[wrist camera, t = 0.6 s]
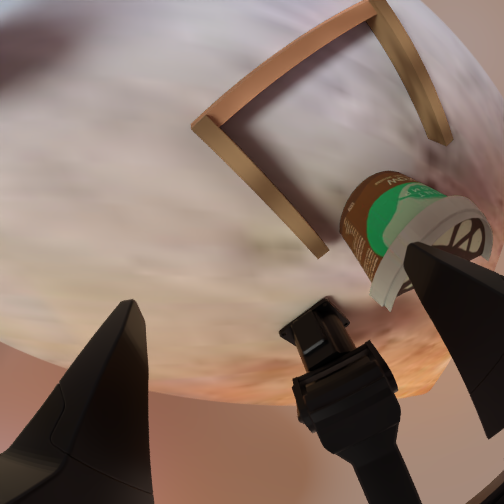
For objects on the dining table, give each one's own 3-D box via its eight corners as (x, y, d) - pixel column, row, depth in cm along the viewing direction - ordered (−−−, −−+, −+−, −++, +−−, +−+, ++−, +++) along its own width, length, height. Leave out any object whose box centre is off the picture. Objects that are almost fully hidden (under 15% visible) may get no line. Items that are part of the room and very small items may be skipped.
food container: (429, 150, 22) (509, 194, 14) (425, 205, 25) (491, 259, 17) (319, 172, 21) (395, 237, 13) (324, 236, 25) (383, 314, 17)
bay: (435, 132, 21) (453, 139, 19) (307, 243, 25) (318, 259, 23) (363, 0, 13) (381, -6, 11) (191, 123, 17) (190, 129, 15)
